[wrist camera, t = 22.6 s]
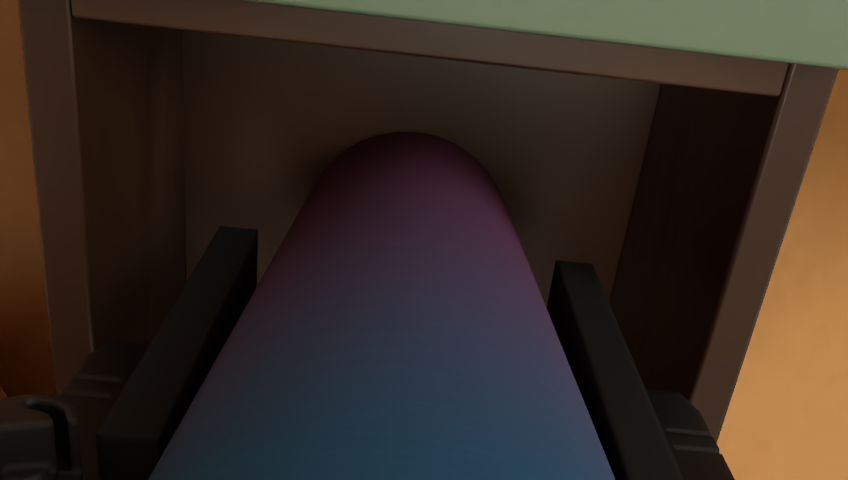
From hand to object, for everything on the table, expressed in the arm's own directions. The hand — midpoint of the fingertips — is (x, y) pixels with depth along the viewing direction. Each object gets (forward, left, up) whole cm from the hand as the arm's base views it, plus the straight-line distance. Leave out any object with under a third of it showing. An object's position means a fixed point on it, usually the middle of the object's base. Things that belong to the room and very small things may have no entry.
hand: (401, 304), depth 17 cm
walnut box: (0, 0, -5) cm, 5 cm away
